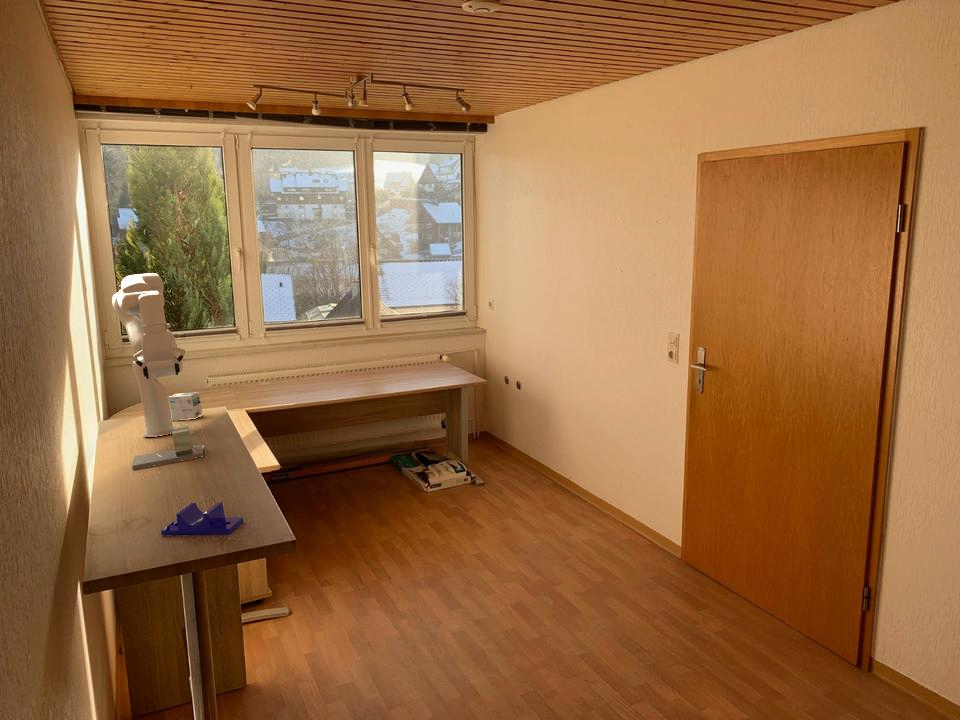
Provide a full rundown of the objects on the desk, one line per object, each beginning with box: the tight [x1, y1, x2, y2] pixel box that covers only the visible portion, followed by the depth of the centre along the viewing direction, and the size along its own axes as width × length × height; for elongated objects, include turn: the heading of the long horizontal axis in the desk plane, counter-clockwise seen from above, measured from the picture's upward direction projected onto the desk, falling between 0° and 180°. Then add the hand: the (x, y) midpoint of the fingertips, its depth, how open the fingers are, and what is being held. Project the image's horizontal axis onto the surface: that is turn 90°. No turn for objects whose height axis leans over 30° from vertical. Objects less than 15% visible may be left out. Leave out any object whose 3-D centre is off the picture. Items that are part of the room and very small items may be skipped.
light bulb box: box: [168, 391, 203, 420], centre depth 300 cm, size 11×7×11 cm, turn 84°
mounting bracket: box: [160, 501, 244, 537], centre depth 177 cm, size 18×7×6 cm, turn 82°
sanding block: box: [171, 424, 193, 456], centre depth 244 cm, size 9×5×8 cm, turn 22°
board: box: [131, 444, 205, 471], centre depth 243 cm, size 12×23×2 cm, turn 112°
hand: (162, 376), depth 252 cm, fingers open, 9 cm apart
